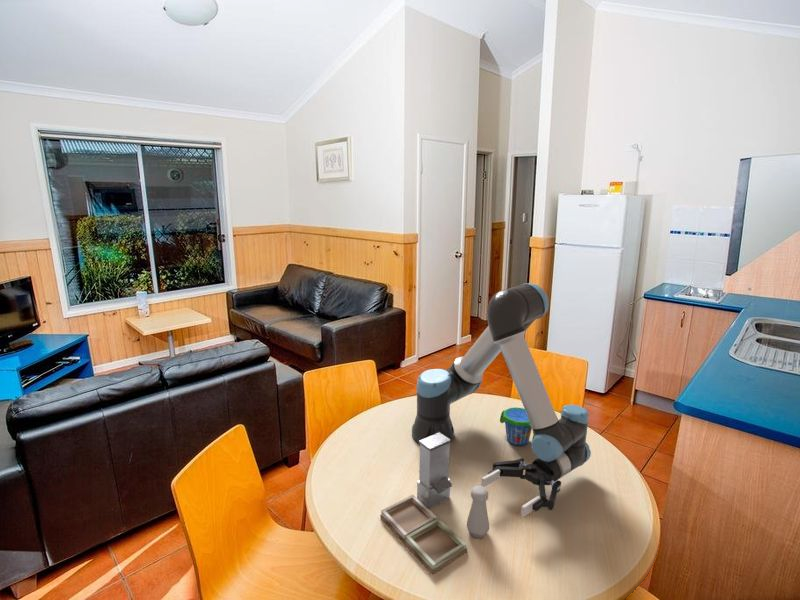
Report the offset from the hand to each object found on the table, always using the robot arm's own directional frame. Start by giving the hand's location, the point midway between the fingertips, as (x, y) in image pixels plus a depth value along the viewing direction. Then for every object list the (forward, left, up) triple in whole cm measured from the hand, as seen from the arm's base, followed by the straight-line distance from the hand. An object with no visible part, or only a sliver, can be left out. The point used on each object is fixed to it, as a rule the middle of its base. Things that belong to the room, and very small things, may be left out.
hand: (501, 496), depth 116 cm
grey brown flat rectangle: (-8, -20, -7) cm, 23 cm away
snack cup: (-22, +34, -8) cm, 41 cm away
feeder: (-16, -9, -7) cm, 20 cm away
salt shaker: (0, -8, -8) cm, 11 cm away
